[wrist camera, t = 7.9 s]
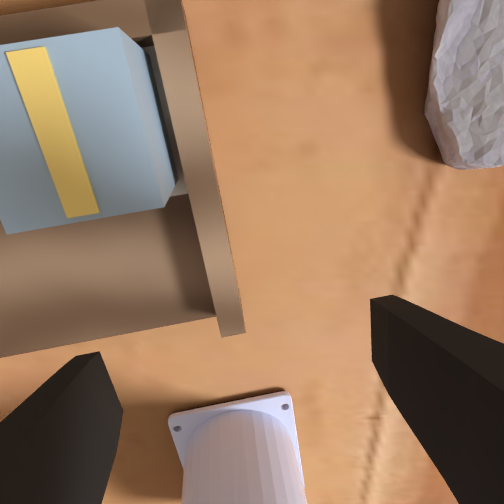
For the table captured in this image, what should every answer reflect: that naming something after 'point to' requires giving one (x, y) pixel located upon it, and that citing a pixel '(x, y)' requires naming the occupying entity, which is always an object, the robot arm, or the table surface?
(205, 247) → the tray
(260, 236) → the table surface
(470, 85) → the stone block
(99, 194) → the cube
